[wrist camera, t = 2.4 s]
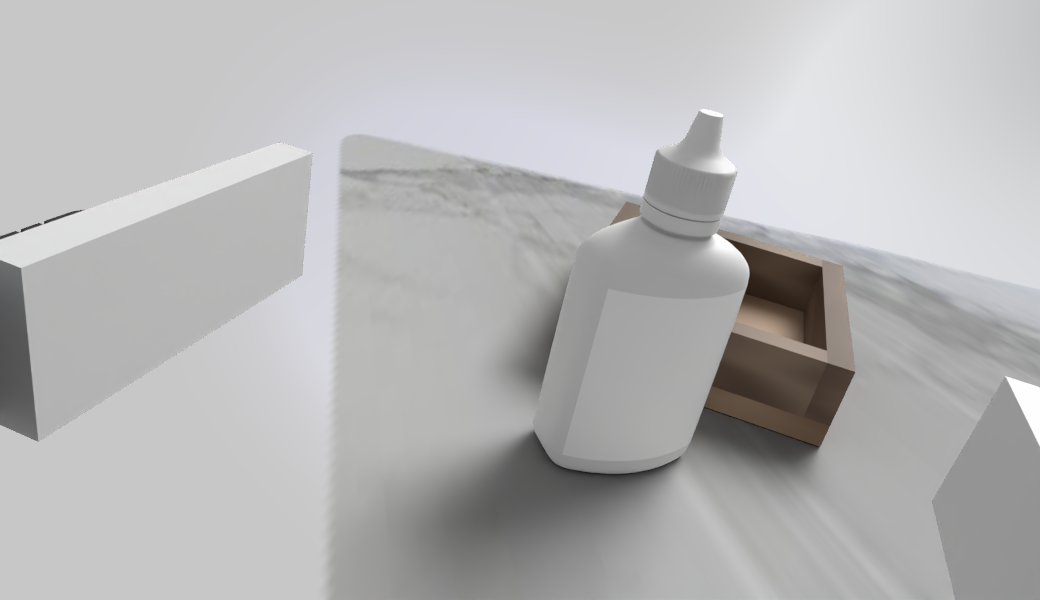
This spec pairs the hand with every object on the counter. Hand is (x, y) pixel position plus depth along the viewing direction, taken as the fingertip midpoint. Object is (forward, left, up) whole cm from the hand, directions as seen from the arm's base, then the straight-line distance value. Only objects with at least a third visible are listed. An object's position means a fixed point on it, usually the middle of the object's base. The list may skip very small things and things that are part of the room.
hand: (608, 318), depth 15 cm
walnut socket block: (-2, -20, -10) cm, 22 cm away
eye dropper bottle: (0, -10, -10) cm, 14 cm away
